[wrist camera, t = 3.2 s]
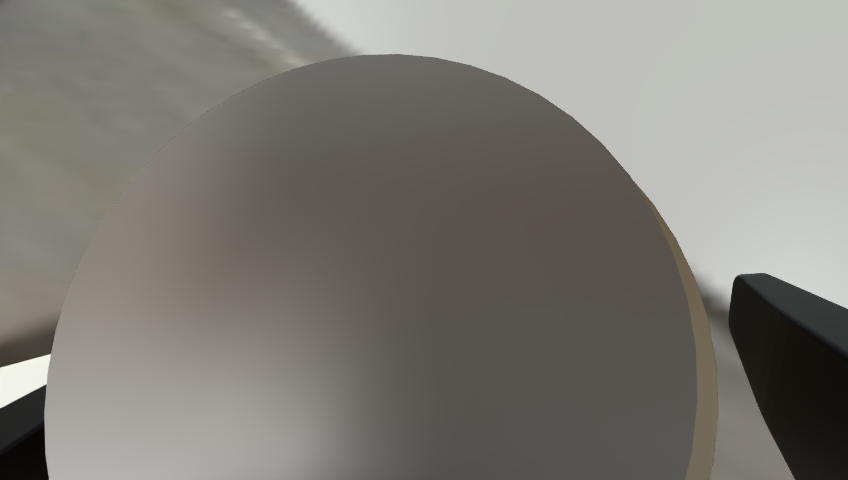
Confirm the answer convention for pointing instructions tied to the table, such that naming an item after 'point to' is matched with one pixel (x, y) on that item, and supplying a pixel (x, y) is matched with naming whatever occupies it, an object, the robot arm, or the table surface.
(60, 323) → the salt mill
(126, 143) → the table surface
